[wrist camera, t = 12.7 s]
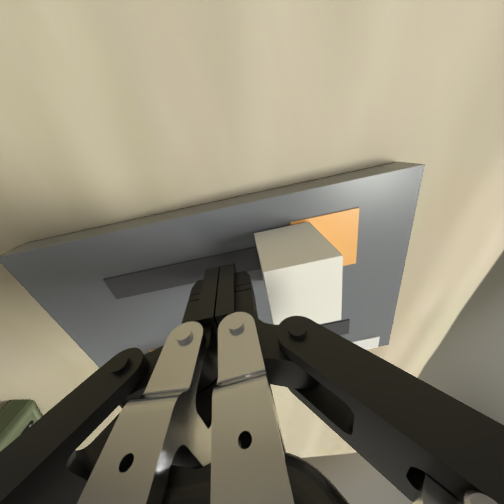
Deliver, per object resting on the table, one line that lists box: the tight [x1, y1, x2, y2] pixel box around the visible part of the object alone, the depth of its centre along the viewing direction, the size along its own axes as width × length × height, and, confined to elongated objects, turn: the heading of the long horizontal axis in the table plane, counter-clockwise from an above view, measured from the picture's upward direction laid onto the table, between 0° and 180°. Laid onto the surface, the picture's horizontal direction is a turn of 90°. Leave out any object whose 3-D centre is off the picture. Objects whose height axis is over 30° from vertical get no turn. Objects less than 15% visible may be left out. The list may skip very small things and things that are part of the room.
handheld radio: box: [0, 400, 42, 452], centre depth 23 cm, size 7×3×25 cm
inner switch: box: [254, 222, 343, 325], centre depth 11 cm, size 4×3×4 cm
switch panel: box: [0, 162, 425, 368], centre depth 15 cm, size 15×24×2 cm, turn 101°
